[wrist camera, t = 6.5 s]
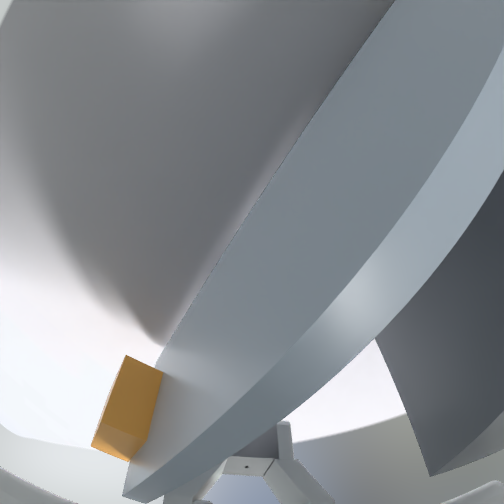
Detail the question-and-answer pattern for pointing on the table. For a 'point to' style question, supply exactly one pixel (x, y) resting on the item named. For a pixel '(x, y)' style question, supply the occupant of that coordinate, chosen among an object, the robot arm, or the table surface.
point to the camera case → (455, 347)
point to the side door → (325, 245)
